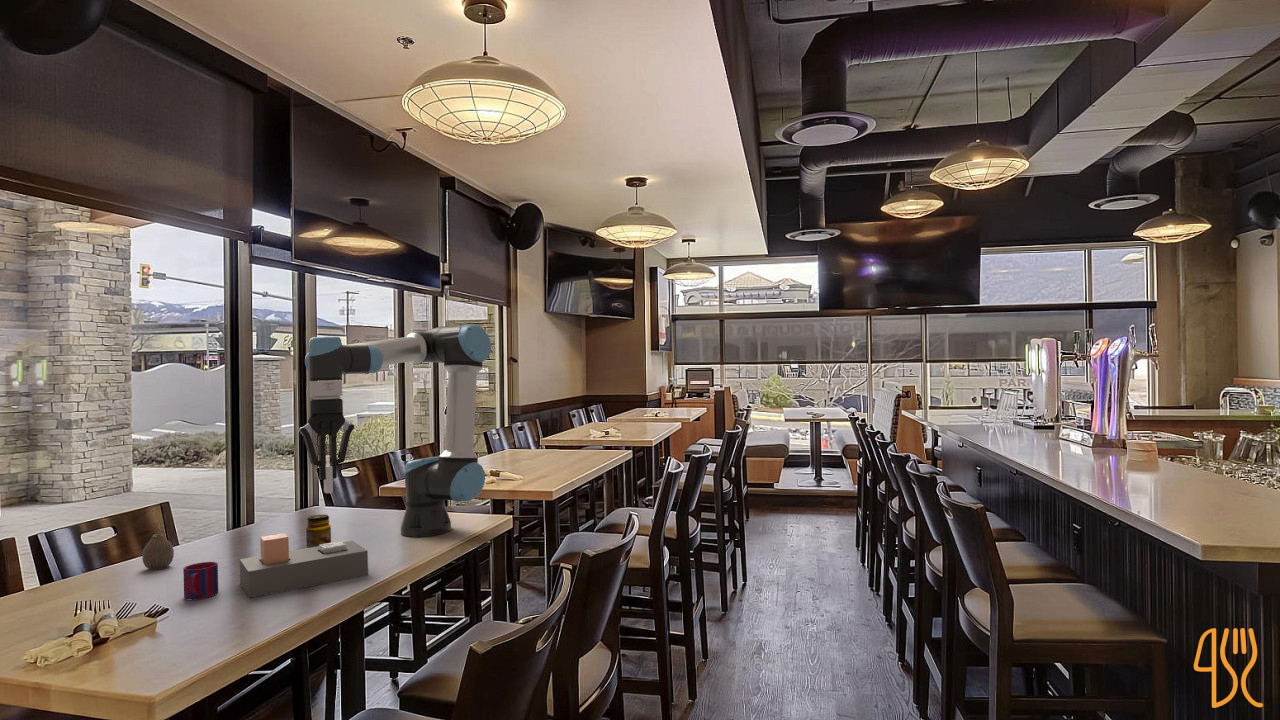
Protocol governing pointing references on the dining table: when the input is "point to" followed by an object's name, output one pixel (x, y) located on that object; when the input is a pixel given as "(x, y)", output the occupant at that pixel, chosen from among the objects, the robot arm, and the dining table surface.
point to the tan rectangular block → (274, 548)
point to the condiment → (318, 530)
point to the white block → (332, 547)
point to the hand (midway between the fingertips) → (328, 492)
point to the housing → (302, 569)
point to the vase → (158, 553)
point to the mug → (200, 580)
